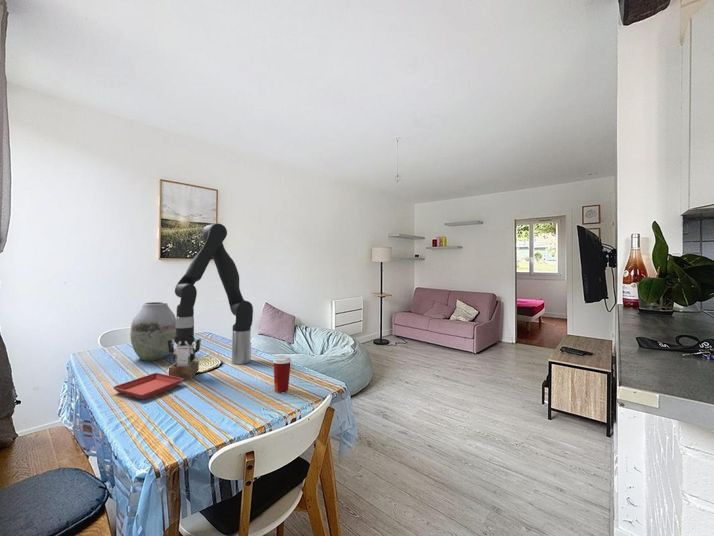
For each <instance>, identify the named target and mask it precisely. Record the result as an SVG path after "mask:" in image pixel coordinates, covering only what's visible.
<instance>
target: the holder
mask: <svg viewBox="0 0 714 536" xmlns="http://www.w3.org/2000/svg"><path fill="white" fill-rule="evenodd" d="M199 363H200V361H199V359H198V360H196V359H194V360H193V364H192V365H191V366H186V367H175V362H174V363H172V364H171V365H170V366H168V375H170V376H174V377H179V378H183V380H193V378H194V377H195V376H196V375H197V374H196V372H197V371H198V370H199V367H200V366H199ZM198 372H199V371H198ZM195 374H196V375H195Z"/></svg>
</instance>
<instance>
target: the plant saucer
mask: <svg viewBox="0 0 714 536" xmlns="http://www.w3.org/2000/svg"><path fill="white" fill-rule="evenodd" d="M182 381H184V379H183V378H179V377H174V376H170V375H169V374H164V373H159V372H154V373H151V374H147V375H144V376H141V377H138V378H135V379H133V380H130V381H127V382H124V383H123V382H122V383H120V384H118V385H114V386H112V388H113V389H114V391H116V392H117V393H119V394H121V395H126V396H128V395H129V397H131V398H132V397H133V398H136V399H139V400H146V399H149V398H151V397H154V396H157V395H159V394H161V393H164V392H166V391H169V390H171V389H174V388H176V387H177V386H179V384H181V382H182Z"/></svg>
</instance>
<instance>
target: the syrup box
mask: <svg viewBox="0 0 714 536" xmlns="http://www.w3.org/2000/svg"><path fill="white" fill-rule="evenodd" d="M190 346H191V347H192V346H195V343H192V345H190ZM175 348H176V354H175V361H174V363H175V367H186V366H191V365H192V364H193V361H192V362H190V354H191V352H190V347H189V346H186V345H180V346H177V345H176V346H175Z"/></svg>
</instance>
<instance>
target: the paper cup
mask: <svg viewBox="0 0 714 536" xmlns="http://www.w3.org/2000/svg"><path fill="white" fill-rule="evenodd" d="M272 363H273V381H274V382H273V384H274V385H273V386H274V387H273V388H274V392H275V393H276V392H279V393H278V394H283V393H282V392H285V393H287V392H288V391H289V385H290V375H291V374H290V373H291V363H292V359H291V356H290V355H285V354H284V355H277V356H275V357H274V358H273V360H272ZM286 391H287V392H286Z"/></svg>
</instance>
